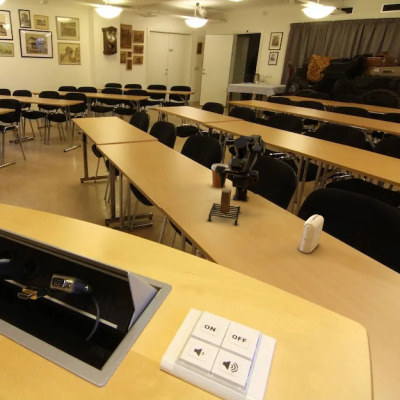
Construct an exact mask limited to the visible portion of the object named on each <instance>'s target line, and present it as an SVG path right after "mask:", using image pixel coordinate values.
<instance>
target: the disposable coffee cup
mask: <svg viewBox="0 0 400 400" xmlns="http://www.w3.org/2000/svg"><path fill="white" fill-rule="evenodd" d="M218 165H219V166H225V168H226V169H227V170H230V165H229V164H226V163H213V164H212V165H211V167H210V168H211V176H212V177H211V178H212V179H211V180H212V187H213V188H215V189H221V183H220V177H219V176H217V174H216V172H215V168H216V166H218ZM227 178H228V174H226V176H225V181H224V184H223V187H222V189H224V188H225V186H226V182H227Z"/></svg>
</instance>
